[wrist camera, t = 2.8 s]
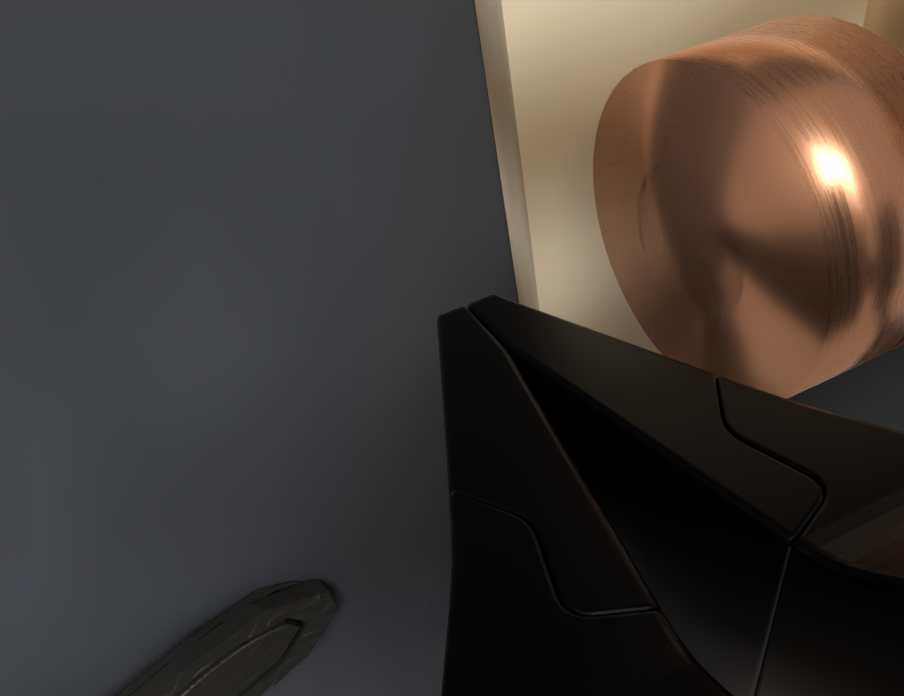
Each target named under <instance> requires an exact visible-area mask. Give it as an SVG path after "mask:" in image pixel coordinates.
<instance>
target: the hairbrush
mask: <svg viewBox="0 0 904 696" xmlns="http://www.w3.org/2000/svg"><path fill="white" fill-rule="evenodd" d="M291 582H300V581H290V582H285V583H281V584H276V585H272V586H268V587H263V588H259V589H257V590H255V591H254V592H253V593H251V594H250V595H248V596H247V597H246V598H244V599H243V600H241V601H240V602H239V603H237V604H236V605H234V606H233V607H231V608H230V609H229V610H227V611H226V612H224V613H223V614H222V615H220V616H219V617H217V618H216V619H215V620H213V621H212V622H210V623H209V624H208V625H206V626H205V627H203V628H202V629H201V630H199V631H198V632H196V633H195V634H193V635H192V636H191V637H189V638H188V639H186V640H185V641H184V642H182V643H181V644H179V645H178V646H177V647H176V648H174V649H173V650H172V651H171V652H170V653H168V654H167V655H166V656H165V657H164V658H162V659H161V660H160V661H159V662H157V663H156V664H155V665H154V666H153V667H151V668H150V669H149V670H148V671H147V672H145V673H144V674H143V675H142V676H141V677H139V678H138V679H137V680H136V681H135V682H133V683H132V684H131V685H130V686H129V687H127V688H126V689H125V690H124V691H123V692H121V693H120V694H119V695H118V696H263V695H264V694H265V693H266V692H267V691H268V690H269V689H271V688H272V687H273V686H274V685H275V684H276V683H277V682H278V681H280V680H281V679H282V678H283V677H284V676H285V675H286V674H288V673H289V672H290V671H291V670H292V669H293V668H294V667H295V666H297V665H298V664H299V663H300V662H301V661H302V660H303V659H304V658H306V657H307V656H308V654H309V653H310V651H311V650H312V648H313V647H314V645H315V643H316V642H317V640H318V639H319V637H320V636H321V634H322V632H323V631H324V629H325V628H326V626H327V624H328V623H329V621H330V620H331V618H332V617H333V615H334V613H335V612H336V610H337V609H338V607H337V604H336V600H335V597H334V594H333V592H332V591H331V590H329V589H328V588H327V587H326V586H325V585H324V584H323V583H322V582H321V581H320V580H319V579H312V580H308V581H305V582H303V583H300V584H298V585H295V586H293V587H290V588H288V589H285V590H283V591H280V592H278V593H275V594H272V595H270V596H267V595H269V594H271V593H272V592H274V591H276V590H277V589H279V588H281V587H282V586H284V585H286V584H287V583H291Z"/></svg>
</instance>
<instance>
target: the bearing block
mask: <svg viewBox="0 0 904 696" xmlns="http://www.w3.org/2000/svg"><path fill="white" fill-rule="evenodd" d="M474 1H475V7H476V14H477V21H478V28H479V35H480V41H481V48H482V55H483V62H484V69H485V75H486V82H487V89H488V96H489V102H490V109H491V116H492V123H493V130H494V136H495V143H496V150H497V157H498V163H499V170H500V177H501V184H502V191H503V197H504V204H505V211H506V218H507V224H508V231H509V238H510V245H511V252H512V258H513V265H514V272H515V279H516V285H517V292H518V299H519V303H520V304H523V305H525V306H528V307H531V308H534V309H536V310H539V311H542V312H545V313H547V314H550V315H553V316H556V317H559V318H561V319H564V320H567V321H570V322H572V323H575V324H578V325H581V326H583V327H586V328H589V329H592V330H594V331H597V332H600V333H603V334H605V335H608V336H611V337H614V338H617V339H619V340H622V341H625V342H628V343H630V344H633V345H636V346H639V347H641V348H644V349H647V350H650V351H652V352H655V353H658V354H661V353H660V351H659V350H658V349H657V348H656V347H655V345H654V344H653V343H652V341H651V340H650V339H649V337H648V336H647V334H646V333H645V332H644V330H643V328H642V327H641V325H640V324H639V322H638V321H637V319H636V317H635V316H634V314H633V312H632V310H631V308H630V307H629V305H628V303H627V301H626V299H625V297H624V295H623V293H622V291H621V288H620V286H619V284H618V282H617V279H616V277H615V274H614V272H613V269H612V267H611V264H610V261H609V258H608V255H607V252H606V249H605V245H604V242H603V238H602V235H601V230H600V226H599V221H598V217H597V210H596V204H595V196H594V184H593V157H594V145H595V138H596V132H597V128H598V124H599V120H600V117H601V114H602V111H603V109H604V106H605V104H606V101H607V100H608V98H609V96H610V94H611V93H612V91H613V89H614V88H615V87H616V85H617V84H618V83H619V82H620V81H621V80H622V78H623V77H624V76H626V75H627V74H628V73H629V72H631V71H632V70H633V69H635V68H637V67H639V66H641V65H643V64H645V63H647V62H650V61H653V60H656V59H659V58H662V57H665V56H668V55H671V54H674V53H677V52H680V51H683V50H686V49H689V48H692V47H695V46H698V45H700V44H703V43H706V42H709V41H712V40H715V39H718V38H721V37H724V36H727V35H730V34H733V33H736V32H739V31H742V30H745V29H748V28H751V27H754V26H756V25H759V24H762V23H765V22H768V21H771V20H774V19H778V18H782V17H787V16H791V15H804V14H815V15H823V16H831V17H835V18H838V19H842V20H845V21H848V22H851V23H854V24H856V25H858V26H860V27H862V28H864V29H866V30H868V31H870V32H872V33H874V34H876V35H877V36H879V37H880V38H882V39H883V40H884V41H886V42H887V43H889V44H890V45H891V46H893V47H894V48H896V49H897V50H898V51H899V52H900V53H901V54H902V55H903V56H904V0H474ZM661 355H662V354H661Z"/></svg>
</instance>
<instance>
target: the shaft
mask: <svg viewBox="0 0 904 696" xmlns="http://www.w3.org/2000/svg"><path fill="white" fill-rule="evenodd" d="M593 184H594V196H595V204H596V210H597V217H598V221H599V226H600V230H601V235H602V238H603V242H604V245H605V249H606V252H607V255H608V258H609V261H610V264H611V267H612V269H613V272H614V274H615V277H616V279H617V282H618V284H619V286H620V288H621V291H622V293H623V295H624V297H625V299H626V301H627V303H628V305H629V307H630V308H631V310H632V312H633V314H634V316H635V317H636V319H637V321H638V322H639V324H640V325H641V327H642V328H643V330H644V332H645V333H646V334H647V336H648V337H649V339H650V340H651V341H652V343H653V344H654V345H655V347H656V348H657V349H658V350H659V351H660V353H661V354H662V355H663V356H666V357H669V358H672V359H675V360H677V361H680V362H683V363H686V364H688V365H691V366H694V367H697V368H699V369H702V370H705V371H708V372H710V373H713V374H714V375H715V377H716V379H717V377H719V376H722V377H725V378H728V379H730V380H733V381H736V382H739V383H741V384H744V385H747V386H750V387H753V388H756V389H759V390H762V391H765V392H768V393H771V394H774V395H776V396H779V397H782V398H785V399H787V398H790V397H792V396H794V395H796V394H798V393H800V392H803V391H805V390H807V389H809V388H811V387H813V386H816V385H818V384H820V383H822V382H824V381H826V380H829V379H831V378H833V377H835V376H837V375H839V374H842V373H844V372H846V371H848V370H850V369H853V368H855V367H857V366H859V365H861V364H863V363H866V362H868V361H870V360H872V359H874V358H876V357H879V356H881V355H883V354H885V353H887V352H889V351H892V350H894V349H896V348H898V347H900V346H902V345H904V56H903V55H902V54H901V53H900V52H899V51H898V50H897V49H896V48H894V47H893V46H891V45H890V44H889V43H887V42H886V41H884V40H883V39H882V38H880V37H879V36H877V35H876V34H874V33H872V32H870V31H868V30H866V29H864V28H862V27H860V26H858V25H856V24H854V23H851V22H848V21H845V20H842V19H838V18H835V17H831V16H823V15H815V14H804V15H791V16H787V17H782V18H778V19H774V20H771V21H768V22H765V23H762V24H759V25H756V26H754V27H751V28H748V29H745V30H742V31H739V32H736V33H733V34H730V35H727V36H724V37H721V38H718V39H715V40H712V41H709V42H706V43H703V44H700V45H698V46H695V47H692V48H689V49H686V50H683V51H680V52H677V53H674V54H671V55H668V56H665V57H662V58H659V59H656V60H653V61H650V62H647V63H645V64H643V65H641V66H639V67H637V68H635V69H633V70H632V71H631V72H629V73H628V74H627V75H626V76H624V77H623V78H622V80H621V81H620V82H619V83H618V84H617V85H616V87H615V88H614V89H613V91H612V93H611V94H610V96H609V98H608V100H607V101H606V104H605V106H604V109H603V111H602V114H601V117H600V120H599V124H598V128H597V132H596V138H595V145H594V157H593Z"/></svg>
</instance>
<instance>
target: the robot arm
mask: <svg viewBox="0 0 904 696" xmlns="http://www.w3.org/2000/svg"><path fill="white" fill-rule="evenodd" d="M437 325H438V340H439V354H440V369H441V383H442V398H443V413H444V427H445V442H446V456H447V471H448V485H449V494H450V497H449V506H450V520H451V552H452V566H451V585H450V604H449V617H448V628H447V639H446V650H445V661H444V672H443V682H442V693H441V696H904V432H900V431H897V430H893V429H889V428H886V427H882V426H878V425H875V424H871V423H867V422H864V421H860V420H856V419H853V418H849V417H846V416H842V415H839V414H835V413H832V412H828V411H825V410H822V409H818V408H815V407H811V406H808V405H805V404H801V403H798V402H794V401H791V400H788V399H785V398H782V397H779V396H776V395H774V394H771V393H768V392H765V391H762V390H759V389H756V388H753V387H750V386H747V385H744V384H741V383H739V382H736V381H733V380H730V379H728V378H725V377H722V376H719V377H717V379H716V377H715V375H714V374H713V373H710V372H708V371H705V370H702V369H699V368H697V367H694V366H691V365H688V364H686V363H683V362H680V361H677V360H675V359H672V358H669V357H666V356H663V355H661V354H658V353H655V352H652V351H650V350H647V349H644V348H641V347H639V346H636V345H633V344H630V343H628V342H625V341H622V340H619V339H617V338H614V337H611V336H608V335H605V334H603V333H600V332H597V331H594V330H592V329H589V328H586V327H583V326H581V325H578V324H575V323H572V322H570V321H567V320H564V319H561V318H559V317H556V316H553V315H550V314H547V313H545V312H542V311H539V310H536V309H534V308H531V307H528V306H525V305H523V304H520V303H517V302H514V301H512V300H509V299H506V298H503V297H501V296H497V295H491V296H488V297H486V298H483V299H481V300H478V301H476V302H473V303H471V304H469V305H468V307H467V308H465V307H460V308H458V309H455V310H452V311H450V312H447V313H445V314H442V315H440V316H439V317H438V319H437Z"/></svg>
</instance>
